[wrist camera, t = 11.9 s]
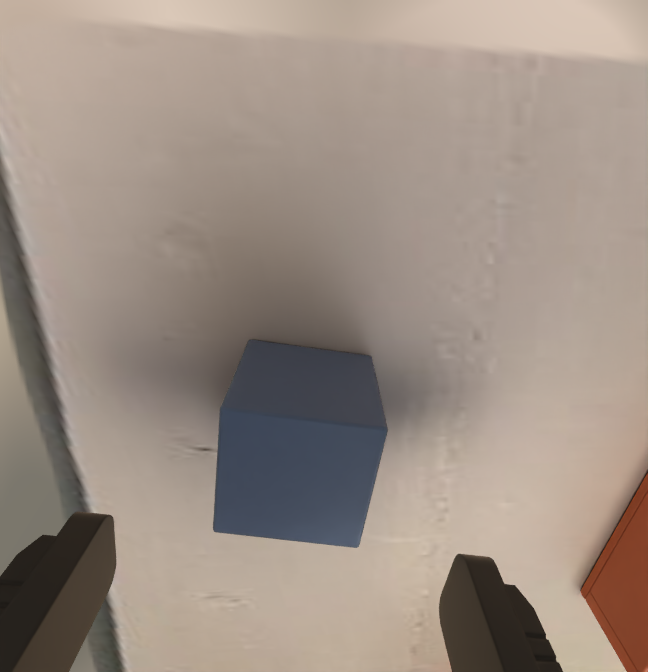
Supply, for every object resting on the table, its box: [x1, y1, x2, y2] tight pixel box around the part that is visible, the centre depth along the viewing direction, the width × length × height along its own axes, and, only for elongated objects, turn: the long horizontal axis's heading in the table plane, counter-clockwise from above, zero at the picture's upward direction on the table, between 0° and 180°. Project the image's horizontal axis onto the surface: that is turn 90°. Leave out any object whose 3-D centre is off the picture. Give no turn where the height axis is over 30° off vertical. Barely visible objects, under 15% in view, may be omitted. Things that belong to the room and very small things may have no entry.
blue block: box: [213, 340, 388, 548], centre depth 14 cm, size 4×4×4 cm
